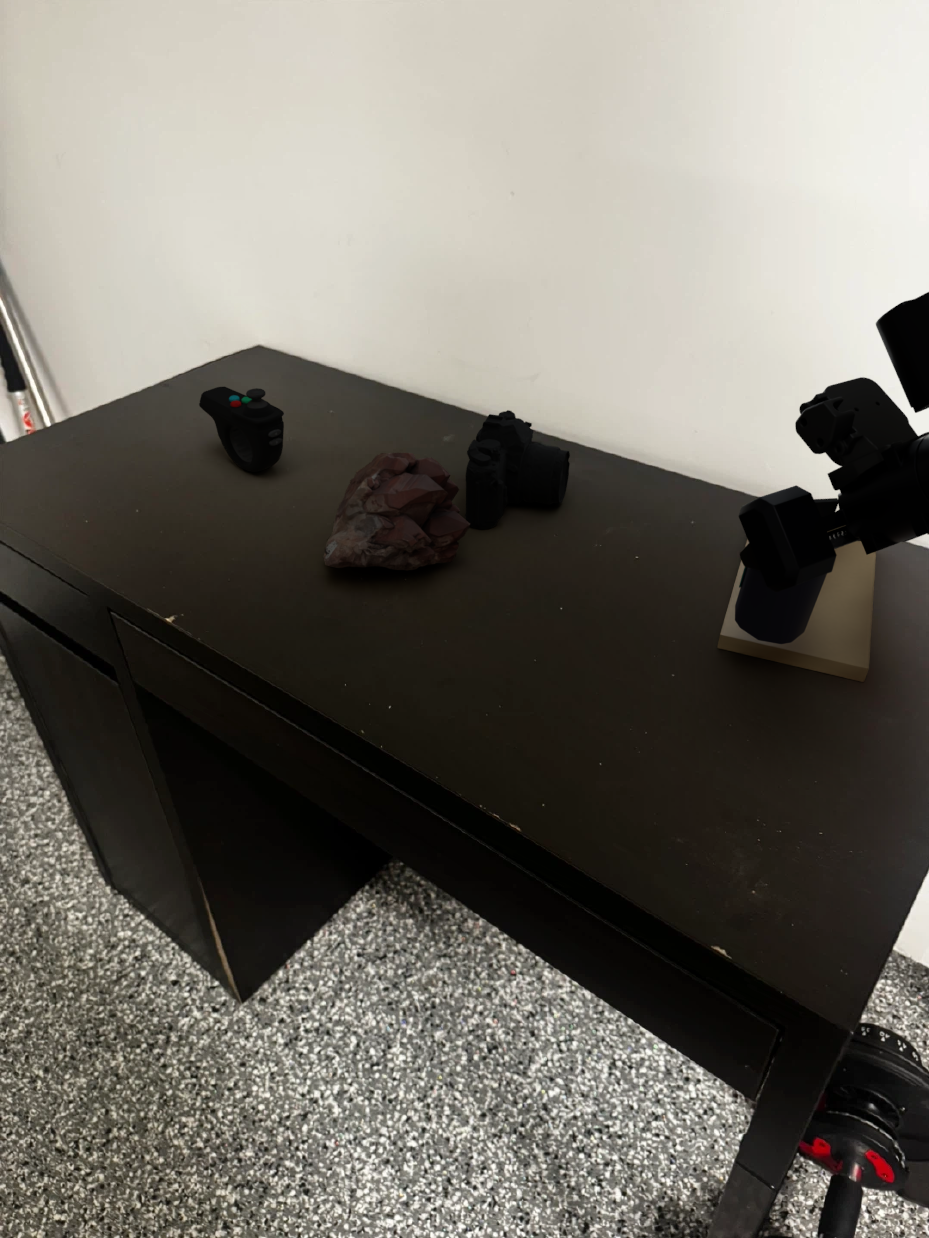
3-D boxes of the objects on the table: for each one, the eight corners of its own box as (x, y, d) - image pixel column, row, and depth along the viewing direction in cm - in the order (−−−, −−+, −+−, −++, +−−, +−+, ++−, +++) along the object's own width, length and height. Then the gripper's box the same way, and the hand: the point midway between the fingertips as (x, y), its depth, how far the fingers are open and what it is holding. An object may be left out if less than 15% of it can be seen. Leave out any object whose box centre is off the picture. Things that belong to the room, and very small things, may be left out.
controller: (267, 488, 99) (254, 404, 93) (204, 455, 106) (188, 374, 100) (297, 475, 102) (287, 392, 96) (233, 443, 109) (220, 364, 103)
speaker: (732, 584, 76) (761, 483, 69) (801, 597, 75) (839, 495, 68) (727, 643, 71) (759, 540, 64) (802, 658, 70) (843, 554, 62)
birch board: (872, 550, 89) (877, 537, 89) (863, 682, 73) (869, 668, 72) (751, 526, 93) (754, 514, 92) (716, 648, 77) (720, 634, 76)
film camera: (546, 542, 90) (551, 462, 85) (455, 527, 93) (455, 449, 87) (575, 475, 102) (581, 401, 97) (494, 464, 104) (496, 391, 99)
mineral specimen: (361, 571, 95) (494, 546, 90) (308, 600, 83) (457, 573, 78) (334, 464, 92) (468, 432, 87) (274, 478, 80) (426, 442, 75)
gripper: (995, 331, 59) (826, 426, 73) (791, 384, 52) (648, 478, 66) (1062, 485, 58) (879, 551, 72) (865, 561, 51) (704, 618, 65)
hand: (781, 546), depth 69 cm, fingers closed on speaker, 7 cm apart
